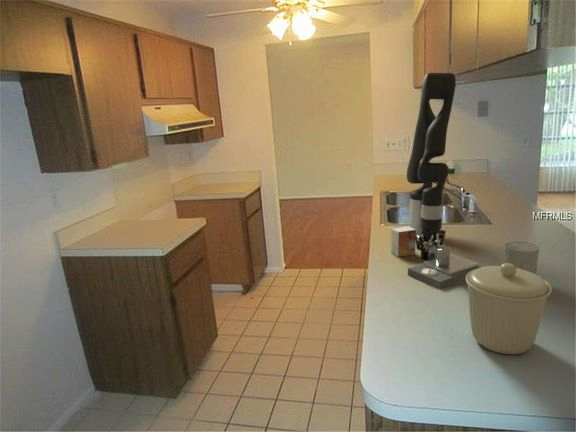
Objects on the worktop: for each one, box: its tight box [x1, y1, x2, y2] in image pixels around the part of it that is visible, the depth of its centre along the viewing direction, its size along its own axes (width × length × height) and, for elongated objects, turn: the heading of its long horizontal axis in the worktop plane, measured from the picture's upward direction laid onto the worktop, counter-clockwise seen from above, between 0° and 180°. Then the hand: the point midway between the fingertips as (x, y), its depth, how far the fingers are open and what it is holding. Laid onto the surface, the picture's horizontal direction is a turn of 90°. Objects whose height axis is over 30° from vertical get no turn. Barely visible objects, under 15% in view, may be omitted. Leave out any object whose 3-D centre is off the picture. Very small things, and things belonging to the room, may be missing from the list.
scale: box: [407, 263, 482, 289], centre depth 139 cm, size 21×14×3 cm, turn 119°
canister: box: [464, 262, 553, 356], centre depth 96 cm, size 18×18×21 cm
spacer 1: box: [424, 243, 436, 261], centre depth 152 cm, size 4×4×6 cm
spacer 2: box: [436, 246, 451, 268], centre depth 137 cm, size 4×4×6 cm
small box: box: [390, 225, 416, 258], centre depth 159 cm, size 8×6×10 cm
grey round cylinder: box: [503, 241, 540, 275], centre depth 129 cm, size 10×10×12 cm
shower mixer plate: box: [422, 253, 480, 275], centre depth 140 cm, size 14×12×1 cm
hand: (429, 258), depth 152 cm, fingers open, 5 cm apart
